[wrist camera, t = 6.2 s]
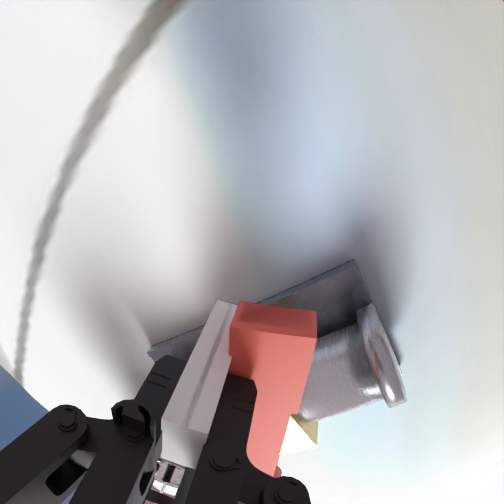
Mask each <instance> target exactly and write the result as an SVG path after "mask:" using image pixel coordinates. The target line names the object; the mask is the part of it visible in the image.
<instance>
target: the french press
mask: <svg viewBox="0 0 504 504" xmlns="http://www.w3.org/2000/svg"><path fill="white" fill-rule="evenodd" d="M195 470H196V469H192V468H189V467H186V466H183V465H180V464H177V463H174V462H171V461H168V460H165V459H162V458H161V455H160V457H159V460H158V462H157V467H156V473H155V475H154V477H153V480H152V482H151V485H150V487H149V489H148V492H147V494H146V497H145V499H144V501H143V504H144V503H145V500H148V501H151V502H154V503H155V504H185V501H186V498H187V495H188V492H189V489H190V485H191V482H192V479H193V476H194V473H195ZM154 479H155V480H157V481H159V482H161V483H163V485H162V488H161V490H160V493H159V492H156V491H153V490H151V486H152V484H153V482H154ZM166 485H169V486H172V487H176V488H178V490H177V493H176V495H175V498H174V499H173V498H170V497H168V496H166V495H164V494H163V491H164V489H165V486H166Z"/></svg>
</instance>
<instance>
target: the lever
mask: <svg viewBox="0 0 504 504" xmlns="http://www.w3.org/2000/svg"><path fill="white" fill-rule="evenodd" d="M316 341H317V316H316V311H310V310H302V309H293V308H285V307H278V306H270V305H262V304H255V303H248V302H241V301H239V303H238V306H237V308H236V311H235V314H234V316H233V319H232V322H231V324H230V327H229V356H231V357H232V359H231V362H230V366H229V370H228V373H230V374H233V375H237V376H241V377H244V378H248V379H252V380H254V382H255V385H256V388H257V391H258V392H257V397H256V402H255V407H254V412H253V418H252V423H251V428H250V433H249V438H248V443H247V451H246V452H247V456H248V458H249V460H250V462H251V463H252V464H253V465H254V466H255V467H256V468H257V469H259V470H260V471H262V472H264V473H266V474H268V475H270V476H272V477H274V478H277V477H281V473H282V472H281V469H280V468H279V467H278V466H277V463H278V459H279V456H280V452H281V449H282V445H283V442H284V438H285V435H286V431H287V428H288V424H289V420H290V416H291V414H298V411H299V407H300V403H301V400H302V396H303V392H304V389H305V385H306V381H307V377H308V373H309V370H310V366H311V362H312V358H313V353H314V349H315V345H316Z"/></svg>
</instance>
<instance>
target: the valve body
mask: <svg viewBox="0 0 504 504" xmlns="http://www.w3.org/2000/svg"><path fill="white" fill-rule="evenodd" d="M257 304H262V305H270V306H278V307H285V308H293V309H302V310H310V311H316V316H317V341H316V345H315V349H314V353H313V358H312V362H311V366H310V370H309V373H308V377H307V381H306V385H305V389H304V392H303V396H302V400H301V403H300V407H299V411H298V414H291V416H290V420H289V424H288V428H287V431H286V435H285V438H284V442H283V445H282V449H281V452H280V455H281V454H287V453H292V452H297V451H301V450H306V449H310V448H315V447H317V429H318V420H322V419H325V418H329V417H332V416H335V415H339V414H342V413H345V412H348V411H351V410H354V409H357V408H360V407H363V406H366V405H369V404H371V403H374V402H377V401H380V400H382V399H384V400H385V402H386V404H387V405H388V407H389V408H391V407H394V406H397V405H399V404H402V403H404V402H407V397H406V392H405V388H404V385H403V381H402V378H401V374H402V372H401V369H400V366H399V363H398V361H397V358H396V356H395V353H394V351H393V348H392V346H391V343H390V341H389V338H388V336H387V333H386V331H385V328H384V326H383V324H382V321H381V319H380V317H379V314H378V312H377V310H376V307H375V305H374V303H373V301H372V298H371V296H370V294H369V292H368V289H367V287H366V285H365V283H364V281H363V279H362V276H361V274H360V272H359V270H358V268H357V266H356V264H355V262H354V260H351V261H349V262H347V263H345V264H342V265H340V266H338V267H336V268H334V269H332V270H330V271H328V272H325V273H323V274H321V275H319V276H317V277H315V278H313V279H310V280H308V281H306V282H304V283H302V284H299V285H297V286H295V287H293V288H291V289H288V290H286V291H284V292H282V293H279V294H277V295H275V296H273V297H270V298H268V299H266V300H263V301H261V302H259V303H257ZM204 326H205V325H204ZM204 326H202V327H199V328H197V329H194V330H192V331H189V332H187V333H184V334H182V335H179V336H177V337H174V338H172V339H169V340H167V341H164V342H162V343H159V344H156V345H154V346H151V347H150V349H149V351H148V352H147V353H148V355H149V356H150V357H151V358H152V359H153V360H154V362H156V361H157V360H159V359H160V358H162V357H163V356H165V355H166V354H167V355H170V356H173V357H176V358H179V359H182V360H185V361H188V360H189V358H190V356H191V354H192V352H193V350H194V347H195V345H196V343H197V341H198V339H199V337H200V335H201V333H202V330H203V328H204Z"/></svg>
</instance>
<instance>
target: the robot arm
mask: <svg viewBox="0 0 504 504" xmlns="http://www.w3.org/2000/svg"><path fill="white" fill-rule="evenodd" d="M237 306H238V305H234V304H231V303H227V302H224V301H220V300H217V301H216V303H215V305H214V307H213V309H212V311H211V314H210V316H209V318H208V320H207V322H206V324H205V326H204V328H203V330H202V333H201V335H200V337H199V339H198V341H197V343H196V345H195V347H194V350H193V352H192V354H191V356H190V358H189V360H188V361H185V360H182V359H179V358H176V357H173V356H170V355H167V354H166V355H165V356H163V357H162V358H160V359H159V360H157V361H156V362H155V364H154V366H153V368H152V369H151V371H150V373H149V374H148V376H147V378H146V381H144V383H143V385H142V387H141V388H140V390H139V392H138V394H137V395H136V397H135V399H134V400H133V399H132V400H123V401H120V402H118V403H116V404H115V405H114V406H113V407H112V408H111V411H112V416H113V419H111V420H104V419H97V418H91V417H86V415H85V414H84V413H83V412H82V411H81V410H80V409H79V408H77V407H75V406H72V405H60V406H58V407H56V408H54V409H52V410H51V411H50V412H49V413H48V414H46V415H45V416H44V417H43V418H41V419H40V420H39V421H37V422H36V423H35V424H34V425H32V426H31V427H30V428H29V429H28V430H26V431H25V432H24V433H22V434H21V435H20V436H19V437H18V438H16V439H15V440H14V441H13V442H11V443H10V444H9V445H7V446H6V447H5V448H4V449H3V450H1V451H0V504H61V503H62V502H63V501H64V500H65V499H66V498H67V497H68V496H69V495H70V494H71V493H72V492H73V491H74V490H75V489H76V488H77V487H78V488H77V489H76V491H75V493H74V495H73V497H72V499H71V500H70V502H69V504H143V501H144V499H145V497H146V494H147V492H148V489H149V487H150V485H151V482H152V480H153V477H154V475H155V473H156V467H157V462H158V460H159V457H160V455H161V458H162V459H165V460H168V461H171V462H174V463H177V464H180V465H183V466H186V467H189V468H192V469H196V470H195V473H194V476H193V479H192V482H191V485H190V489H189V492H188V495H187V498H186V501H185V504H311V502H310V498H309V493H308V491H307V489H306V486H305V485H304V484H303V483H302V482H300V481H299V480H297V479H295V478H293V477H286V476H282V477H277V478H274V477H272V476H270V475H268V474H266V473H264V472H262V471H260V470H259V469H257V468H256V467H255V466H254V465H253V464H252V463H251V462H250V460H249V458H248V456H247V452H246V451H247V443H248V438H249V433H250V428H251V423H252V418H253V412H254V407H255V402H256V397H257V392H258V391H257V388H256V385H255V382H254V380H252V379H248V378H244V377H241V376H237V375H233V374H230V373H228V370H229V366H230V362H231V359H232V357H231V356H229V327H230V324H231V322H232V319H233V316H234V314H235V311H236V308H237Z"/></svg>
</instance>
